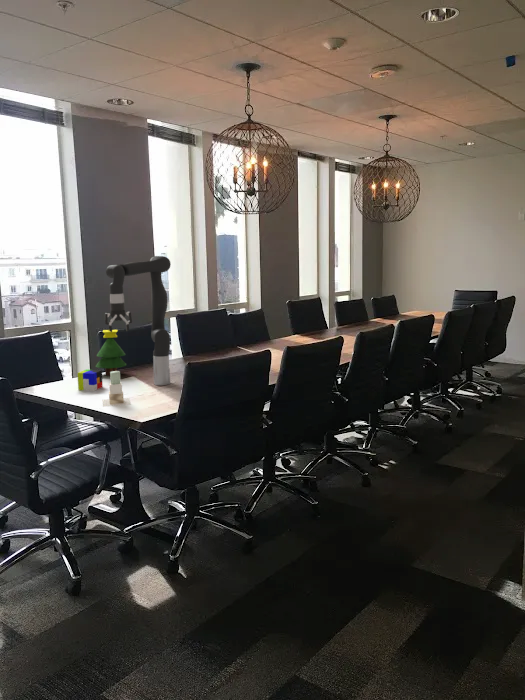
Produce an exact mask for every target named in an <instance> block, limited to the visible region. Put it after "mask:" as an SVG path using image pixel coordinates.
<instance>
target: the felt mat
mask: <svg viewBox="0 0 525 700" xmlns="http://www.w3.org/2000/svg"><path fill="white" fill-rule="evenodd" d="M123 399H124V403H119V404H110V402H109V398H108V399H102V407H111V406H112V407H114V406H116V407H117V406H126V405H127V406H128V405H132V403H131V399H130V397H123Z"/></svg>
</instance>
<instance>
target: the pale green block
mask: <svg viewBox="0 0 525 700" xmlns="http://www.w3.org/2000/svg"><path fill="white" fill-rule="evenodd" d="M109 378H110V382H111V384H120V383H122V381H121V371H119V370H117V371H112V372H110V376H109Z"/></svg>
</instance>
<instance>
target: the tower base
mask: <svg viewBox="0 0 525 700" xmlns="http://www.w3.org/2000/svg"><path fill="white" fill-rule="evenodd" d="M108 396H109V398H108V399H109V402H110V404H119V403H124V399H123V398H124V391H123V390H122V394H110V391H108Z"/></svg>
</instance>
